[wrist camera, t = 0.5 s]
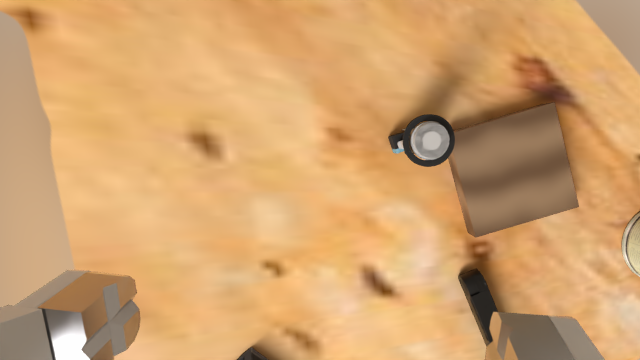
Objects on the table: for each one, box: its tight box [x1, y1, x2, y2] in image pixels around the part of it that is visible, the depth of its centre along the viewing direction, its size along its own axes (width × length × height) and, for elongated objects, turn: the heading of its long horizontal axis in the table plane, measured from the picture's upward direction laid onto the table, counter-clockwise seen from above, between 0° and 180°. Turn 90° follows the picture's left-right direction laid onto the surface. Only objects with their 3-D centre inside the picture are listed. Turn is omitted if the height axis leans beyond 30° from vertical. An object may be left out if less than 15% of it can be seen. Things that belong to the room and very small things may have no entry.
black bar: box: [458, 269, 498, 346], centre depth 53 cm, size 18×3×3 cm, turn 24°
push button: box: [388, 114, 455, 167], centre depth 46 cm, size 7×5×10 cm
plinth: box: [448, 102, 579, 237], centre depth 51 cm, size 13×13×2 cm
